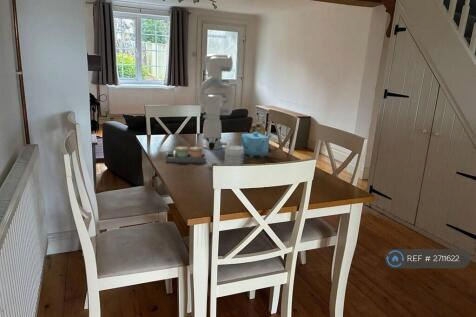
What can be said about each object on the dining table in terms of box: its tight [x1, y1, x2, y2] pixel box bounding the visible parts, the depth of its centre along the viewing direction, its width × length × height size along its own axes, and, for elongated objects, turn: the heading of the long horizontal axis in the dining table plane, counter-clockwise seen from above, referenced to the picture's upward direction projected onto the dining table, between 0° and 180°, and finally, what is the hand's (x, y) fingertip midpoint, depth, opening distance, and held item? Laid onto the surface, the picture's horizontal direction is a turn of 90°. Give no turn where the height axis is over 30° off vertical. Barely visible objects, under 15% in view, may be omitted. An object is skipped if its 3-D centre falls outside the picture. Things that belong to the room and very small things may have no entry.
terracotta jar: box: [189, 146, 203, 158], centre depth 203 cm, size 7×7×7 cm
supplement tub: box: [224, 144, 245, 166], centre depth 181 cm, size 10×10×15 cm
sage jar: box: [174, 146, 189, 158], centre depth 202 cm, size 7×7×7 cm
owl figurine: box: [248, 121, 266, 136], centre depth 246 cm, size 18×12×17 cm, turn 24°
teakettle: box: [237, 132, 273, 159], centre depth 221 cm, size 19×19×15 cm
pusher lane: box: [165, 151, 206, 163], centre depth 203 cm, size 22×9×4 cm, turn 99°
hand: (211, 149), depth 203 cm, fingers closed
